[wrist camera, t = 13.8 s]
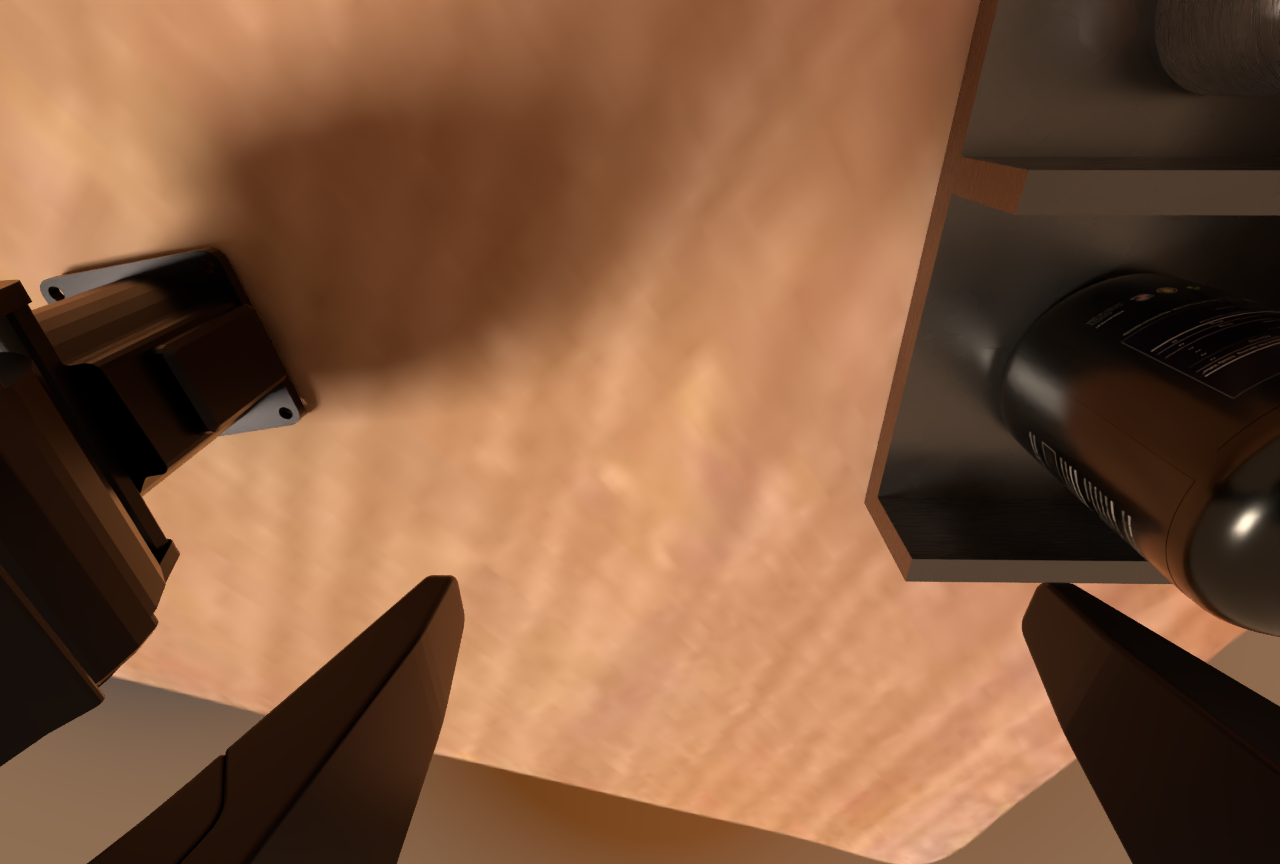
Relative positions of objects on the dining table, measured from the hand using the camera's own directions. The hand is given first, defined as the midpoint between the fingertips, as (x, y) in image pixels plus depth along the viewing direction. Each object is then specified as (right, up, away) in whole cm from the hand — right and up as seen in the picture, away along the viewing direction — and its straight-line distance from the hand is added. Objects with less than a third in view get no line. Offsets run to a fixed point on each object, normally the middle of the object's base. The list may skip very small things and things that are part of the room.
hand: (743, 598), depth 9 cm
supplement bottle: (+14, +5, +11) cm, 18 cm away
